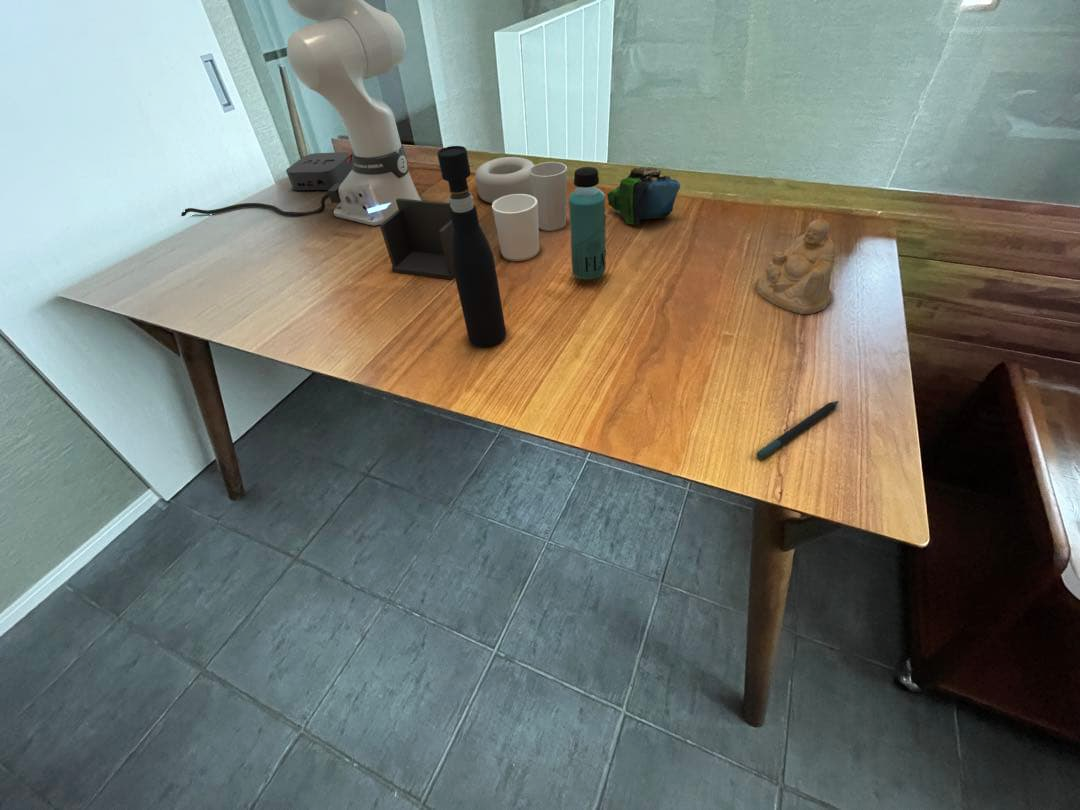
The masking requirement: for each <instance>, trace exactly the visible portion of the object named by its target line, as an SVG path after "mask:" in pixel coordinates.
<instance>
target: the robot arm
mask: <svg viewBox="0 0 1080 810" xmlns="http://www.w3.org/2000/svg"><path fill="white" fill-rule="evenodd" d="M284 1H285V2H286V4H287V5H288V6H289V7H290V8H291V9H292V11H294V13H296V14H297V15H299V16H302V17H303V18H306V19H309V20H311V21H314V23H309V24H307V25H306V26H304V27H302V28H300V29H299V30H297V31H295V32H293V33H292V34H290V35H289V37H288V40H287V43H286V56H287V60H288V64H289V66H290V69H291V71H292V72H293V74H294V75H295V76H296V78H297V80H299V82H300V83H302V84H303V85H304V86H305V87H306V88H308V89H310V90H312V91H314V92H316V93H318V94H319V95H320V96H322V97H323V98H324V99H325V100H327V102H328V103H329V104H330V105H331V107H333V108H334V110H335V111H336V113H337V114H338V116H339V118H340V121H341V122H342V125H343V127H344V130H345V133H346V135H347V138H348V141H349V144H350V148H351V150H352V152H351V153H350V156H348V157H346V158H345V159H348V158H349V159H348V160H347V163H348V162H350V161H352V170H351V172H350V173H349V174H348V176H347V177H346V178H345V180H344V181H343V182H342V183H336V184H334V185H333V186H332V187H331V188H330V189H329V190H326V191H327V193H325V194H324V195H323V196H322V197H321V199H320V207H319V208H317V209H315V210H312V211H285V210H282V209H280V208H279V207H277V206H275V205H272V204H268V203H261V202H244V203H238V204H232V205H228V206H224V207H220V208H215V209H199V208H196V207H195V208H194V207H187V208H185V209H184V210H185V212H183V211H182V212H181V215H180V216H181V217H185V216H187V214H188V213H198V214H203V215H213V214H220V213H223V212H228V211H231V210H236V209H241V208H254V207H255V208H263V209H265V208H266V209H270V210H273V211H275V212H277V213H278V214H280V215H282V216H289V217H290V216H291V217H304V216H310V215H314V214H319V213H321V212H323V211H325V208H326V200H327V199H328V198H329V199H330V202H331V204H338V205H336V206H335V208H334V209H333V215H334V217H336V218H340V219H343V220H344V219H345V220H349V221H352V222H357V223H360V224H364V225H369V226H380V224H381V223H383V222H384V221H385V220H386V219H388V218H389V217H390V216H391V215H393V214H394V213H395V212H396V211H398V206H397V202H396V199H398V198H399V199H411V200H422V199H421V196H420V195H419V193H418V189H416V186H415V183H414V181H413V179H412V176H411V173H410V169H409V164H408V163H409V161H408V158H407V154H406V149H405V146H404V144H403V143H402V142H401V138H400V134H399V131H398V130H399V129H398V126H397V123H396V118H395V114H394V111H393V109H392V108H391V107H390V106H389V104H387V103H386V102H385V101H383V100H381V99H378V98H375V97H371V96H370V95H369V93H368V91H367V90H366V87H365V84H364V80H367V79H370V78H373V77H377V76H381V75H383V74H386V73H389V72H390V71H391V70H393V69H395V68H396V67H397V66H399V65H400V64H402V62H403V61H404V60H405V57H406V51H407V44H406V38H405V34H404V31H403V29H402V27H401V25H400V24H399V22H398V21H397V20H396V18H395V17H394V16H393V15H392V14H390V13H389V12H385V11H383V10H380V9H379V8H377V7H374V6H373V5H371V4H370V3H368V2H366V1H365V0H284Z"/></svg>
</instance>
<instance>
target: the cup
mask: <svg viewBox="0 0 1080 810" xmlns="http://www.w3.org/2000/svg"><path fill="white" fill-rule="evenodd" d="M529 174H530V180H531V185H532V191H533V195H532V196H533V197H535V198H536V199H537V204H538V227H539V230H543V231H548V232H549V231H551V232H552V231H557V230H561V229H562V228H564V227H565V226H566V225H567V183H568V182H567V181H568V180H567V179H568V166H567V165H566V164H564V163H562V162H558V161H547V162H540V163H537V164H534V166H533V167H531V168H530V169H529Z"/></svg>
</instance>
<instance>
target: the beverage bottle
mask: <svg viewBox="0 0 1080 810" xmlns="http://www.w3.org/2000/svg"><path fill="white" fill-rule="evenodd" d="M599 184H600V178H599V170H598V169H597V168H596V167H593V166H584V167H579V168H577V169H576V170H575V171H574V178H573V185H574V186H575V187H578V188H576V189H575V190H574V191H572V192H571V193H570V195H569V196H568V204H569V223H570V249H571V250H570V253H571V257H570V258H571V269H572V274H573V275H574V276H575V277H576V278H578V279H581V280H594V279H598V278H600V277H601V276H603V275H604V273H605V270H606V266H607V265H606V264H607V262H606V256H607V250H606V245H607V237H606V226H607V224H606V223H607V219H606V218H607V217H606V215H607V214H606V194H605V193H604V192H603V191H602V189H600V188H598V187H597V185H599Z"/></svg>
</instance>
